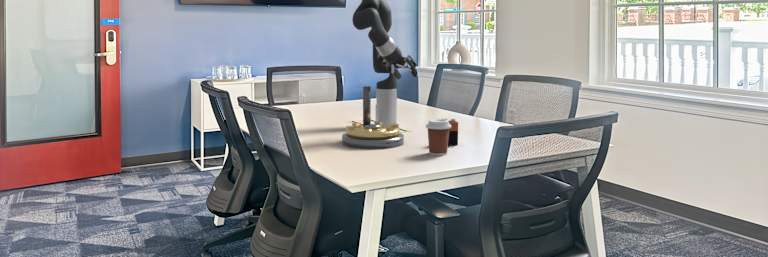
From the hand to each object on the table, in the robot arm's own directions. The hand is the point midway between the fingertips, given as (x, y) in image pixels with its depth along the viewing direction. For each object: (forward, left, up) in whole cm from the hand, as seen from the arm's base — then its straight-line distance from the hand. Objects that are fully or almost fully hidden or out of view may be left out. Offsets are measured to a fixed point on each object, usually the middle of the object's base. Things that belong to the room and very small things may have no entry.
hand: (408, 76), depth 266 cm
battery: (+27, 0, -25) cm, 37 cm away
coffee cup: (+39, -14, -24) cm, 48 cm away
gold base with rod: (+9, -23, -21) cm, 32 cm away
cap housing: (+9, -23, -24) cm, 35 cm away
